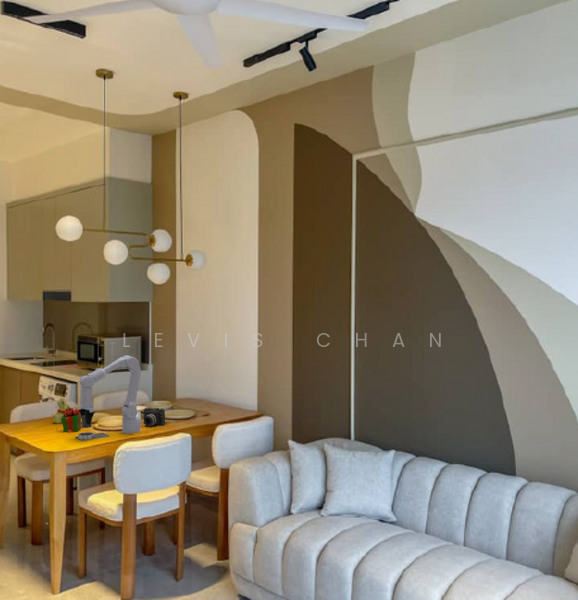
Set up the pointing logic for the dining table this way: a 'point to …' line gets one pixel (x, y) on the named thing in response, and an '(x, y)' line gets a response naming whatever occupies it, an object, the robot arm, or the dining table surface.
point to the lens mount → (90, 436)
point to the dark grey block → (85, 423)
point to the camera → (154, 416)
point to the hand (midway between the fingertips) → (86, 423)
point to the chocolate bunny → (60, 410)
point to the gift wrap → (71, 420)
